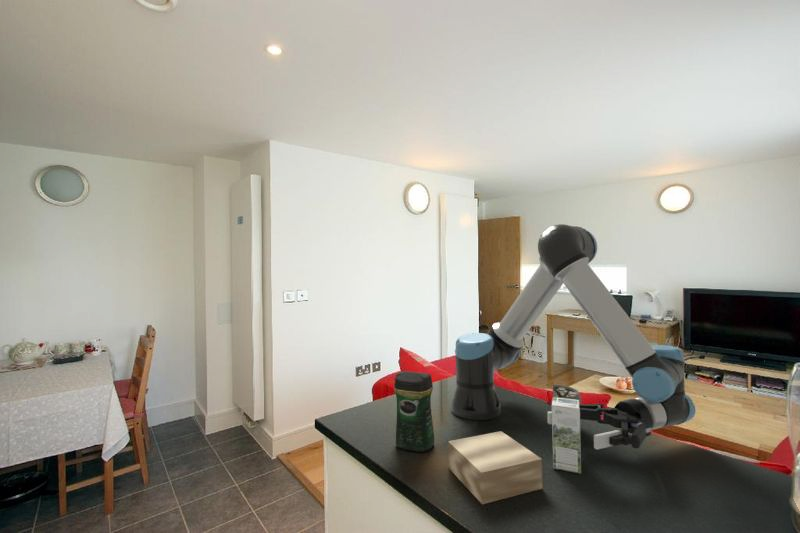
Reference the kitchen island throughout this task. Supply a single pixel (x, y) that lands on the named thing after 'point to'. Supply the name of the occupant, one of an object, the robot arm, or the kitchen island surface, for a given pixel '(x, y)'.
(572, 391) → the food container
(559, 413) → the syrup box
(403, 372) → the coffee jar
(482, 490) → the oak plinth
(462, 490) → the kitchen island surface
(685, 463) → the kitchen island surface
